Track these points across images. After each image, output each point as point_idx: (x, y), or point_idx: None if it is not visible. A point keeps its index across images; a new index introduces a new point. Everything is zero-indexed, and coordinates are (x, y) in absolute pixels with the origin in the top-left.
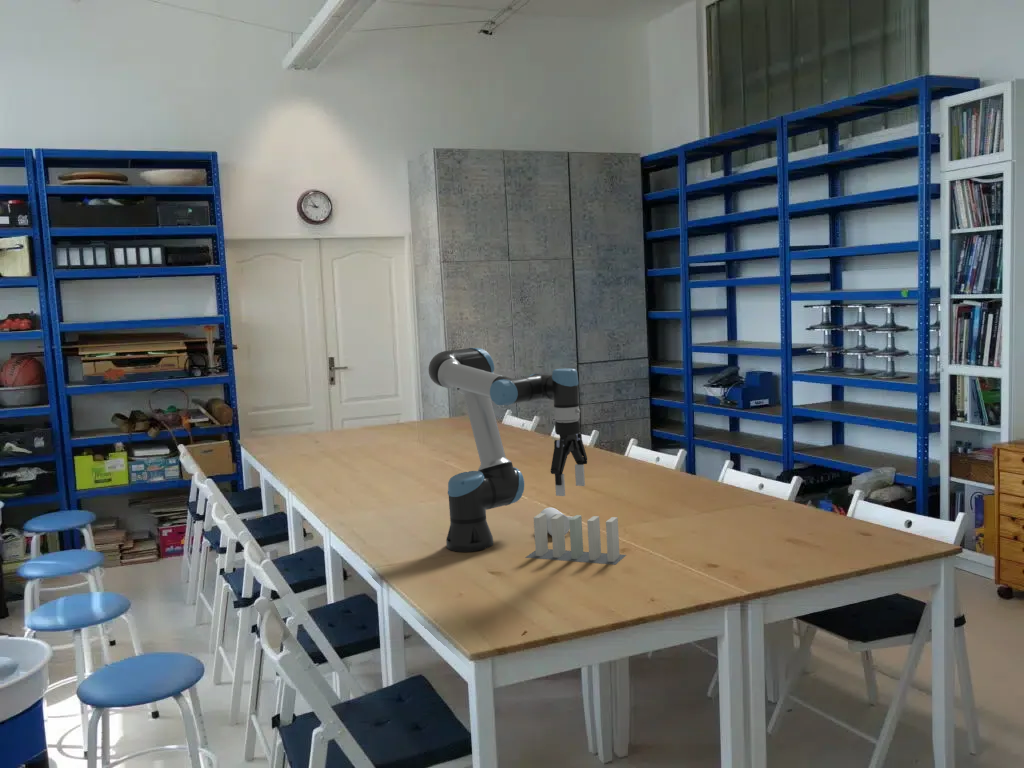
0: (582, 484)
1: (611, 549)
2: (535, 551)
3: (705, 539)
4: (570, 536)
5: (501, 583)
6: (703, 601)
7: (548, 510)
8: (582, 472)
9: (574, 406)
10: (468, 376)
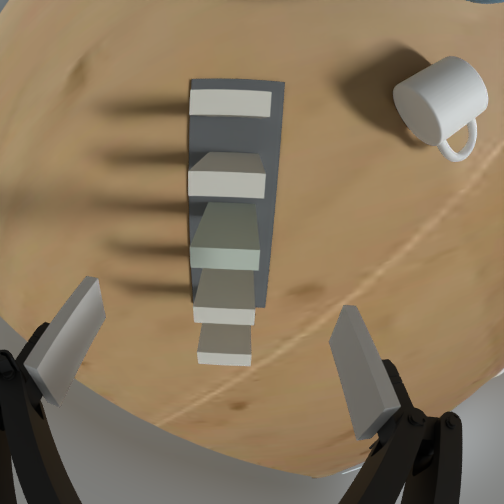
0: (332, 342)
1: None
2: (253, 84)
3: None
4: (199, 223)
5: (32, 129)
6: (109, 400)
7: (465, 84)
8: (347, 398)
9: None
10: None
